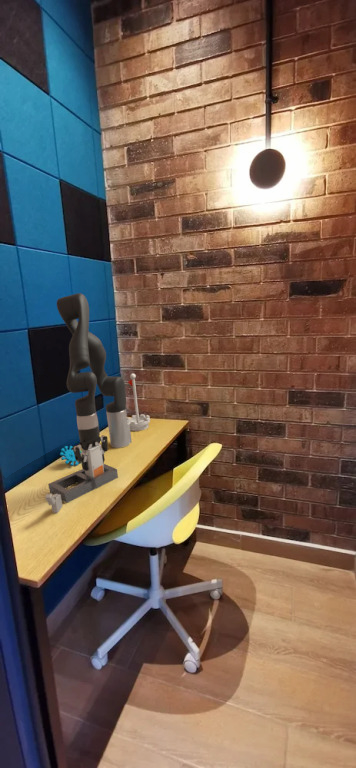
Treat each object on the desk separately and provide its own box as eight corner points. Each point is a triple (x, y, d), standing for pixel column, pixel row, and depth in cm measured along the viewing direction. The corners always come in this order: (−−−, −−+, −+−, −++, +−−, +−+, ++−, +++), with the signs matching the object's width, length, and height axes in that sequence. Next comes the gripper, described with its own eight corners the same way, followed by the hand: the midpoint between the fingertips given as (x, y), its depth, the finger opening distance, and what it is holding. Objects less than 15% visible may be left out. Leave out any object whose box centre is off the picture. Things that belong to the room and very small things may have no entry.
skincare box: (93, 480, 131) (89, 450, 128) (85, 477, 133) (81, 448, 131) (105, 473, 136) (101, 444, 133) (97, 471, 138) (93, 442, 136)
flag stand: (155, 425, 191) (150, 372, 185) (137, 433, 182) (131, 376, 176) (139, 422, 200) (133, 370, 194) (121, 429, 191) (115, 375, 184)
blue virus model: (68, 467, 144) (57, 447, 147) (62, 475, 147) (51, 455, 150) (89, 459, 154) (77, 441, 157) (82, 467, 156) (71, 449, 159)
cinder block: (100, 469, 143) (99, 461, 142) (118, 477, 135) (117, 469, 134) (49, 492, 128) (48, 483, 127) (66, 503, 120) (65, 493, 119)
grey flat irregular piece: (57, 506, 118) (54, 484, 117) (62, 505, 118) (59, 484, 116) (48, 518, 111) (44, 495, 110) (53, 518, 111) (49, 495, 110)
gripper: (98, 418, 138) (103, 457, 141) (65, 429, 128) (72, 471, 131) (109, 421, 133) (115, 462, 136) (76, 433, 123) (82, 476, 126)
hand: (93, 466), depth 134 cm, fingers closed on skincare box, 6 cm apart
